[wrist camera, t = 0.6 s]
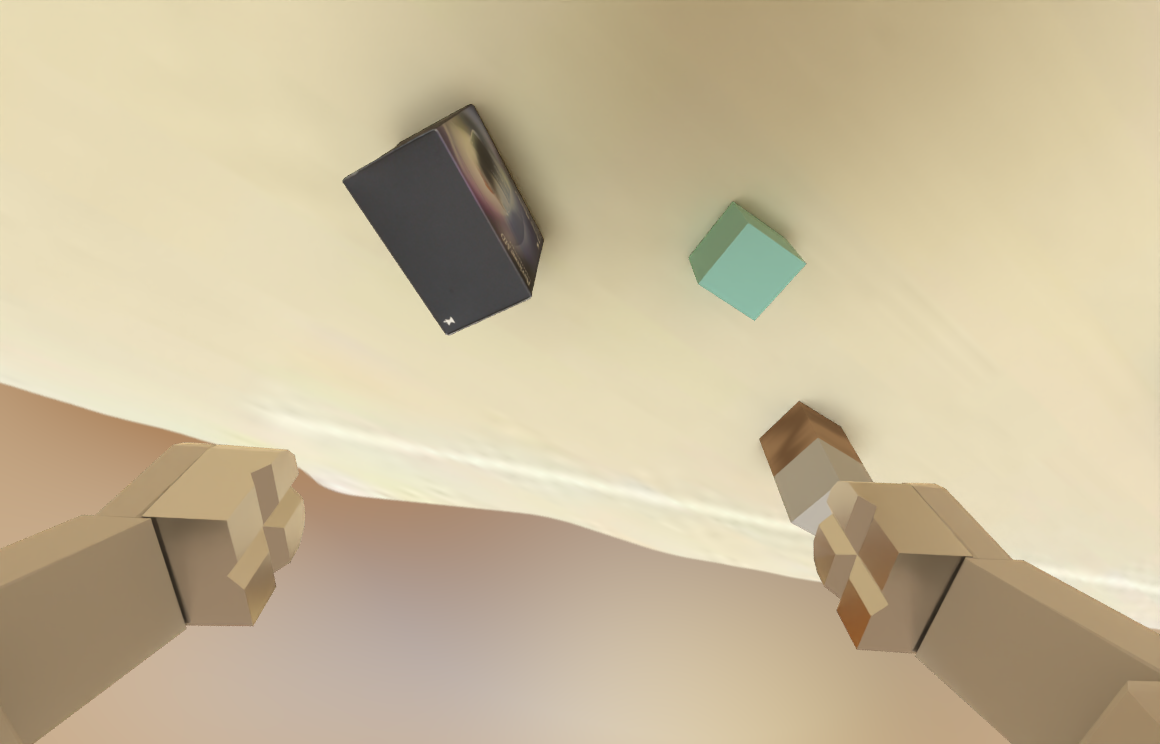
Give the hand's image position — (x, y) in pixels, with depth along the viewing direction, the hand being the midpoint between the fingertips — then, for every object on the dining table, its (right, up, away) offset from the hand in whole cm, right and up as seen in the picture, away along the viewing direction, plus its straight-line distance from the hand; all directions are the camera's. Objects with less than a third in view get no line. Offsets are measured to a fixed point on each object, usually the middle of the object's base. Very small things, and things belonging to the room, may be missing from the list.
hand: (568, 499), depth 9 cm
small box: (-7, +15, +32) cm, 36 cm away
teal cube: (+12, +11, +33) cm, 37 cm away
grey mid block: (+20, -6, +38) cm, 43 cm away
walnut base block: (+20, -4, +42) cm, 47 cm away
